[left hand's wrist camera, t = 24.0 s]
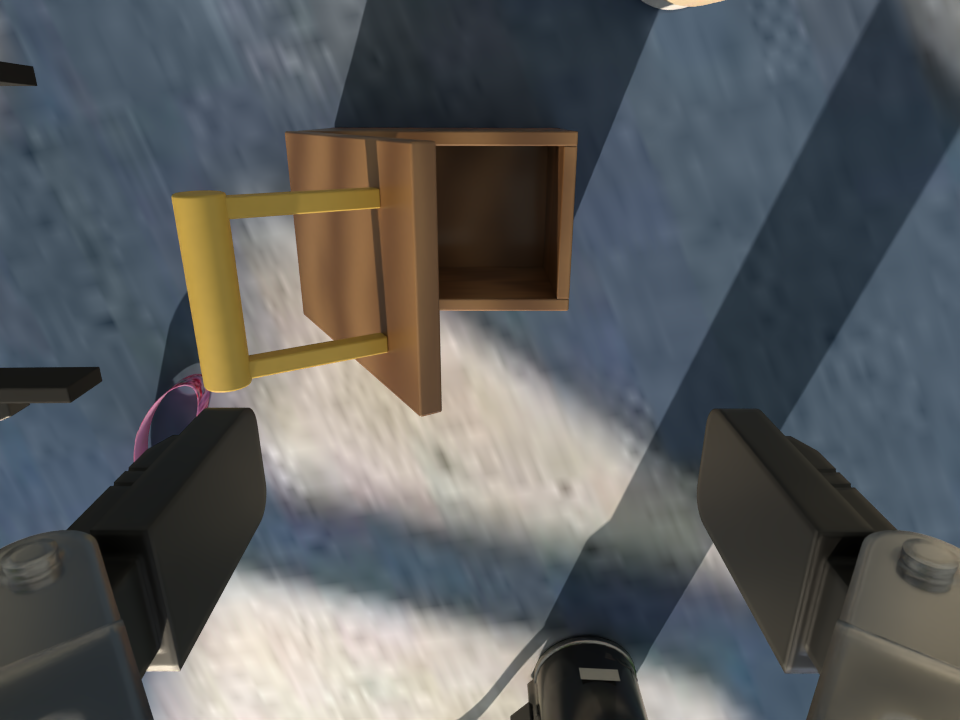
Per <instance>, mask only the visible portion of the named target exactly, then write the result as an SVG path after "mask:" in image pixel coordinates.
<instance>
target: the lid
mask: <svg viewBox="0 0 960 720" xmlns="http://www.w3.org/2000/svg"><path fill="white" fill-rule="evenodd" d="M285 138H286V148H287V157H288V167H289V177H290V186H291V192H276V193H258V194H240V195H226V194H225V193H224V192H221V191H187V192H179V193H175V194H173V195H172V203H173V209H174V214H175V220H176V226H177V232H178V238H179V244H180V249H181V255H182V261H183V267H184V273H185V279H186V284H187V290H188V296H189V302H190V308H191V313H192V319H193V325H194V331H195V337H196V343H197V348H198V354H199V360H200V366H201V372H202V378H203V383H204V387H205V388H206V389H207V390H208V391H211V392H230V391H235V390H239V389H242V388H244V387H246V386H248V385H249V384H250V383H251V381H252V378H257V377H262V376H268V375H273V374H278V373H283V372H288V371H294V370H299V369H304V368H309V367H314V366H320V365H325V364H330V363H335V362H340V361H346V360H351V359H355V360H357V361H358V362H359V363H360V364H361V365H362V366H363V367H365V368H366V369H367V370H368V371H369V372H370V373H371V374H373V375H374V376H375V377H376V378H377V379H378V380H379V381H380V382H382V383H383V384H384V385H385V386H386V387H387V388H388V389H390V390H391V391H392V392H393V393H394V394H395V395H396V396H397V397H399V398H400V399H401V400H402V401H403V402H404V403H405V404H407V405H408V406H409V407H410V408H411V409H412V410H413V411H415V412H416V413H417V414H418V415H419V416H426V415H430V414H434V413H438V412H441V411H442V402H441V358H440V314H439V269H438V225H437V180H436V143H435V141H430V140H416V139H402V138H388V137H375V136H361V135H347V134H334V133H320V132H306V131H286V132H285ZM279 215H294V225H295V234H296V244H297V253H298V263H299V273H300V282H301V292H302V301H303V311H304V315H306V316H307V317H308V318H309V319H310V320H311V321H312V322H313V323H315V324H316V325H317V326H318V327H319V328H320V329H321V330H323V331H324V332H325V333H326V334H327V335H328V336H329V337H331V338H332V339H333V340H334V341H329V342H323V343H317V344H311V345H306V346H300V347H294V348H288V349H283V350H277V351H271V352H266V353H260V354H254V355H248V348H247V341H246V333H245V326H244V319H243V312H242V305H241V298H240V291H239V284H238V277H237V270H236V262H235V255H234V248H233V241H232V234H231V227H230V220H229V219H238V218H252V217H266V216H279Z"/></svg>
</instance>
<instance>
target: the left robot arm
mask: <svg viewBox="0 0 960 720" xmlns="http://www.w3.org/2000/svg"><path fill="white" fill-rule="evenodd" d="M697 503H698V510H699V514H700V517H701V520H702V522H703V524H704V526H705V528H706V530H707V532H708V534H709V535H710V537H711V539H712V541H713V543H714V545H715V546H716V548H717V550H718V552H719V554H720V556H721V557H722V559H723V561H724V563H725V565H726V567H727V568H728V570H729V572H730V574H731V576H732V577H733V579H734V581H735V583H736V585H737V587H738V588H739V590H740V592H741V594H742V596H743V598H744V599H745V601H746V603H747V605H748V607H749V609H750V610H751V612H752V614H753V616H754V618H755V620H756V621H757V623H758V625H759V627H760V629H761V631H762V632H763V634H764V636H765V638H766V640H767V641H768V643H769V645H770V647H771V649H772V651H773V652H774V654H775V656H776V658H777V660H778V662H779V663H780V665H781V667H782V669H783V671H784V673H819V674H820V677H819V680H818V683H817V687H816V690H815V693H814V696H813V699H812V703H811V706H810V709H809V712H808V716H807V719H806V720H960V549H959V548H957V547H955V546H953V545H951V544H949V543H946V542H944V541H942V540H939V539H936V538H933V537H930V536H927V535H923V534H919V533H914V532H909V531H901V530H897V529H896V528H895V527H894V526H893V525H892V524H891V523H890V522H889V521H888V520H887V519H886V518H885V517H884V516H883V515H882V514H881V513H880V512H879V511H878V510H877V509H876V508H875V507H874V506H873V505H872V504H871V503H870V502H869V501H868V500H867V499H866V498H865V497H864V496H863V495H862V494H861V493H860V492H859V491H858V490H857V489H856V488H851V484H850V483H849V482H848V481H847V480H846V479H845V478H844V477H843V476H842V475H841V474H840V473H839V472H836V469H835V468H834V467H833V466H832V465H831V464H830V463H829V462H828V461H827V460H826V459H825V458H824V457H823V456H822V455H821V454H820V453H819V452H818V451H817V450H815V449H813V448H811V447H809V446H808V445H806V444H804V443H802V442H800V441H799V440H797V439H795V438H793V437H791V436H785V435H784V434H783V433H782V432H781V431H780V430H779V429H778V428H777V427H776V426H775V425H774V424H773V423H772V422H771V421H770V420H769V419H768V418H767V417H766V416H765V414H764V413H763V412H762V411H760V410H759V409H713V410H712V411H711V412H710V414H709V416H708V419H707V423H706V430H705V437H704V443H703V450H702V457H701V464H700V471H699V478H698V485H697ZM265 504H266V482H265V475H264V468H263V461H262V454H261V447H260V440H259V433H258V426H257V420H256V416H255V414H254V412H253V410H252V409H251V408H205V409H203V410H202V411H201V412H200V413H199V414H198V415H197V417H196V418H195V419H194V420H193V421H192V422H191V423H190V424H189V425H188V426H187V427H186V428H185V429H184V430H183V431H182V432H181V434H180V435H173V436H171V437H169V438H167V439H165V440H164V441H162V442H160V443H158V444H156V445H154V446H153V447H151V448H149V449H147V450H146V451H145V452H144V453H143V454H142V455H141V456H140V457H139V458H138V459H137V460H136V461H135V462H134V463H133V464H132V465H131V466H130V467H129V471H125V472H124V473H123V474H122V475H121V476H120V477H119V478H118V479H117V480H116V481H115V482H114V486H110V487H109V488H108V489H107V490H106V491H105V492H104V493H103V494H102V495H101V496H100V497H99V498H98V499H97V500H96V501H95V502H94V503H93V504H92V505H91V506H90V507H89V508H88V509H87V510H86V511H85V512H84V513H83V514H82V515H81V516H80V517H79V518H78V519H77V520H76V521H75V522H74V523H73V524H72V525H71V526H70V527H69V528H68V529H67V530H59V531H51V532H46V533H41V534H37V535H33V536H30V537H27V538H24V539H21V540H18V541H16V542H14V543H11V544H9V545H7V546H5V547H3V548H1V549H0V720H154V719H153V716H152V712H151V709H150V706H149V703H148V699H147V696H146V693H145V690H144V687H143V683H142V680H141V679H142V677H143V676H144V674H145V672H146V671H180V670H181V668H182V666H183V665H184V663H185V661H186V659H187V657H188V655H189V654H190V652H191V650H192V648H193V646H194V644H195V642H196V641H197V639H198V637H199V635H200V633H201V631H202V629H203V628H204V626H205V624H206V622H207V620H208V618H209V616H210V615H211V613H212V611H213V609H214V607H215V605H216V604H217V602H218V600H219V598H220V596H221V594H222V592H223V591H224V589H225V587H226V585H227V583H228V581H229V579H230V578H231V576H232V574H233V572H234V570H235V568H236V567H237V565H238V563H239V561H240V559H241V557H242V555H243V554H244V552H245V550H246V548H247V546H248V544H249V542H250V541H251V539H252V537H253V535H254V533H255V531H256V529H257V528H258V526H259V524H260V522H261V520H262V517H263V514H264V510H265ZM637 681H638V680H637V676H636V670H635V667H634V663H633V661H632V658H631V657H630V655H629V654H628V653H627V651H626V650H625V649H623V648H622V647H621V646H620V645H618V644H616V643H614V642H612V641H610V640H607V639H604V638H600V637H592V636H583V637H575V638H570V639H567V640H564V641H562V642H559V643H557V644H556V645H554V646H552V647H551V648H549V649H548V650H547V651H546V652H545V653H544V654H543V655H542V656H541V658H540V659H539V661H538V662H537V664H536V667H535V671H534V679H533V680H532V681H531V682H529V683H528V684H527V686H528V698H529V702H528V703H527V704H526V705H524V706H523V707H522V708H520V709H519V710H518V711H517V712H515V713H514V714H513V715H511V716H510V719H511V720H648V717H647V714H646V710H645V707H644V703H643V699H642V696H641V692H640V689H639V685H638V682H637Z"/></svg>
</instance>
